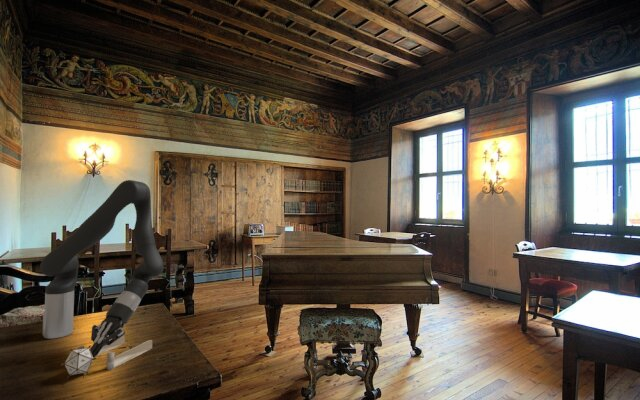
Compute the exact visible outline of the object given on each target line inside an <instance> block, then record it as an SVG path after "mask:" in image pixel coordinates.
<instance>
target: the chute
mask: <svg viewBox="0 0 640 400" xmlns="http://www.w3.org/2000/svg"><path fill="white" fill-rule="evenodd" d="M125 339H126V338H125V334H124V335H123V336H122V337H120V338H119V339H117V340H116V341H115V342H113V343H112V344H110V345H105V346H104V347H102V349H101V350H100V352H99V353H98V355H97V356H100V355H101V354H104V353H106V352H107V354H106V371H112V370H115V368H117V367H119V366H120V365H121V366H122V365H123V364H125V363H127V362H129V361H131V360H132V359H134V358H136V357H138V356H140V355H142V354H145V353H146V352H148V351H150V350H152V349H153V340H152V339H149V340H147V341H145V342H142V343H140V344H138V345H136V346H134V347H132V348H129V349H128V350H126V351H123V352H121V353H119V354H117V355H116V354H115V353H116V352H115V351H111V350H113V349H115V348H117V347H120V346H122V345H124V344H125ZM109 341H110V340H109ZM84 348H85V345H82V346H77V347H76V350H77V349H84ZM115 355H116V356H115ZM97 356H96V357H97Z"/></svg>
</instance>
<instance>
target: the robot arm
mask: <svg viewBox="0 0 640 400" xmlns="http://www.w3.org/2000/svg"><path fill="white" fill-rule="evenodd" d="M151 198H152V197H151V190H150V187H149V186H148V184H146V183H144V182H143V181H139V180H138V181H137V180H133V179H132V180H131V179H128V180H124V181H122V182H121V183H118V185H117V186H116V188H115V189H114V190H113V191H112V192H111V194H110V195H109V196H108V197H107V198H106V200H105V201H104V202H103V203H102V204H101V205H100V206H99V207H98V208H97V209H96V210H95V211H94V212H93V213H92V214H91V215H90V216H88V218H86V219H85V221H83V222H82V223H81V224H80V225H79V226H78V227H77V228H76V230H74V231H73V232H72V233H71V234H70V235H69V236H68V237H67V238H66V239H64V240H63V242H62V243H60V244H59V245H58V246H57V247H55V248H54V249H53V250H52V251H50V252H49V253H48V254H47V255H45V256H44V257H43V258H42V260H41V262H40V267H39V268H40V269H39V270H40V272H41V273H42V275H44V276H46V277H54V278H53V280H52V281H51V282H50V283H48V284H47V285H46V286H45V290H44V291H45V294H44V295H45V296H44V311H43V312H42V336H43V338H44V339H49V340H50V339H57V338H63V337H66V336H67V337H68V336H69V335H72V334H73V333H74V331H73V330H74V329H73V328H74V308H75V307H74V306H75V286H76V284H77V282H78V274H79V258H78V255H79V254H80V253H82V252H83V251H86V250H87V249H89V248H91V247H93V246H94V245H96V244H97V243H99V242H100V241H101V240H102V239H103V238H105V237H106V236H107V235H108V234H109V233H110V232H111V231H112V230H113V228H114V225H115V223H116V218H117V217H118V215H119V214H120V213H121V212H122V210H124V209H125V208H126V207H127V206H128V205H131V204H133V206H134V209H135V214H136V217H135V219H136V220H135V223H134V229H133V240H134V246H135V250H136V254H137V255H138V256H141V257H142V258H143V261H142V262H141V263H139V264H138V266H137V267H136V268H135V270H134V272H133V273H132V276H131V277H130V281H129V283H127V284H126V287H125V288H124V290H123V291H122V292H121V293H120V295H118V296H117V298H116V299H115V301H114V302H113V304H112V305H111V306H110V308H109V309H108V311H107V312H106V313H105V318H104V319H103V320H102V321H101V322H100V323H99V324H94V325H93V326H92V327H91V337H90V340H91V341H92V342H93V344H92V345H91V347H90V348H89V349H90V351H91V353H92V355H93V358H97V355H98V353H99V352H100V350H101V349H102V347H104V346H105V345H110V344H112V343H113V342H115V341H116V340H117V339H119V338H120V337H122V336H123V335H124V336H125V334H126V332H125V331H124V329H123V328H124V326H125V325H126V324H127V323H128V322H129V321H130V320H131V317H132V316H133V315H134V313H135V311H136V309H137V308H138V307H139V305H140V303H141V301H142V300H143V297H144V296H145V295H146V294H147V292H148V290H149V285H148V283H149V282H150V280H151V279H152V278H156V277H159V276H160V275H162V274H163V272H164V261H163V257H162V256H161V255H160V252H159V250H158V249H157V245H156V238H155V234H154V232H153V231H154V230H153V229H154V228H153V224H152V222H153V220H152V219H153V218H152V204H151V203H152V201H151V200H152V199H151ZM109 340H110V341H109ZM98 356H99V355H98Z"/></svg>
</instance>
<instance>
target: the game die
mask: <svg viewBox="0 0 640 400" xmlns="http://www.w3.org/2000/svg"><path fill="white" fill-rule="evenodd" d="M91 347H92V345H88V347H84V349H77V348H76V349H73V348H71V347H70V348H69V351H70V352H69V354H68V357H66V359H65V361H64V362H63V363H61V364H60V365H61V366H64V368H65V369H66V371H67V373H68V375H67V379H69V378H70V376H75V375H80V374H84V373H85V374H87V375H90V372H89V369H90V368H91V366H92V364H93V362H94V360H97V357H94V358H93V355H92V353H91V351H90V348H91Z"/></svg>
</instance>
